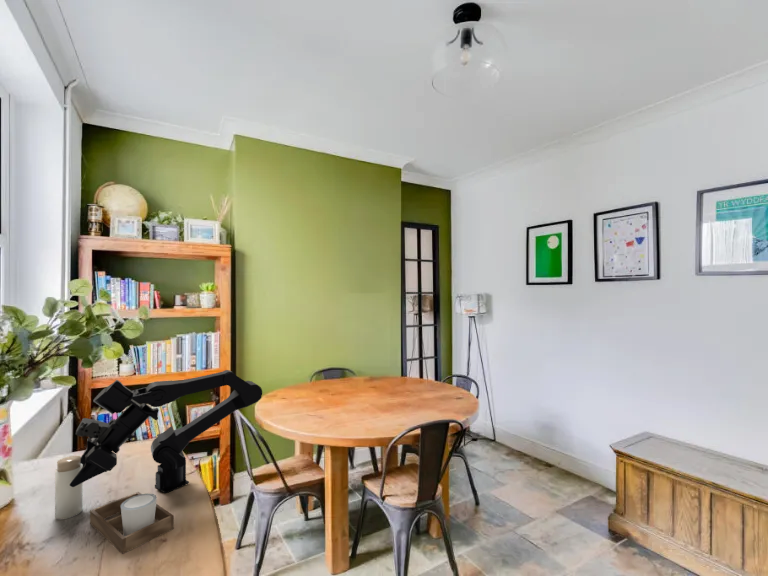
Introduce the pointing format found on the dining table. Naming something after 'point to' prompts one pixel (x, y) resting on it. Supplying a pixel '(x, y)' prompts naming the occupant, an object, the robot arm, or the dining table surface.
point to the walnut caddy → (115, 524)
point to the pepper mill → (68, 488)
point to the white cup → (138, 512)
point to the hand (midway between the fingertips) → (72, 478)
